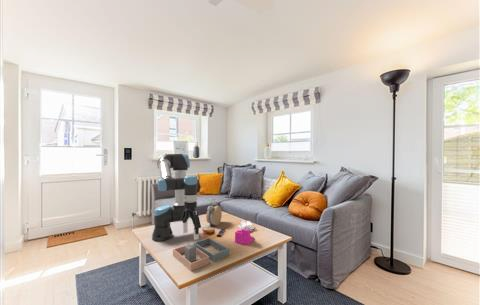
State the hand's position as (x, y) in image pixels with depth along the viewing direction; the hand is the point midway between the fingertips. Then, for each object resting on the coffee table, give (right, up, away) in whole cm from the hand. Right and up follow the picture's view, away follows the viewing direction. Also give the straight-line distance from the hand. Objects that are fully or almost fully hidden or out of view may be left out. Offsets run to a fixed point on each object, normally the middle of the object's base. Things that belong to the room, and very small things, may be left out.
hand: (190, 236), depth 130 cm
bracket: (+34, -15, +28) cm, 46 cm away
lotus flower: (+35, -15, +49) cm, 62 cm away
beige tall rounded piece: (+6, -14, +62) cm, 64 cm away
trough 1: (0, -15, 0) cm, 15 cm away
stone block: (0, -15, 0) cm, 15 cm away
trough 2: (+11, -15, +10) cm, 21 cm away
